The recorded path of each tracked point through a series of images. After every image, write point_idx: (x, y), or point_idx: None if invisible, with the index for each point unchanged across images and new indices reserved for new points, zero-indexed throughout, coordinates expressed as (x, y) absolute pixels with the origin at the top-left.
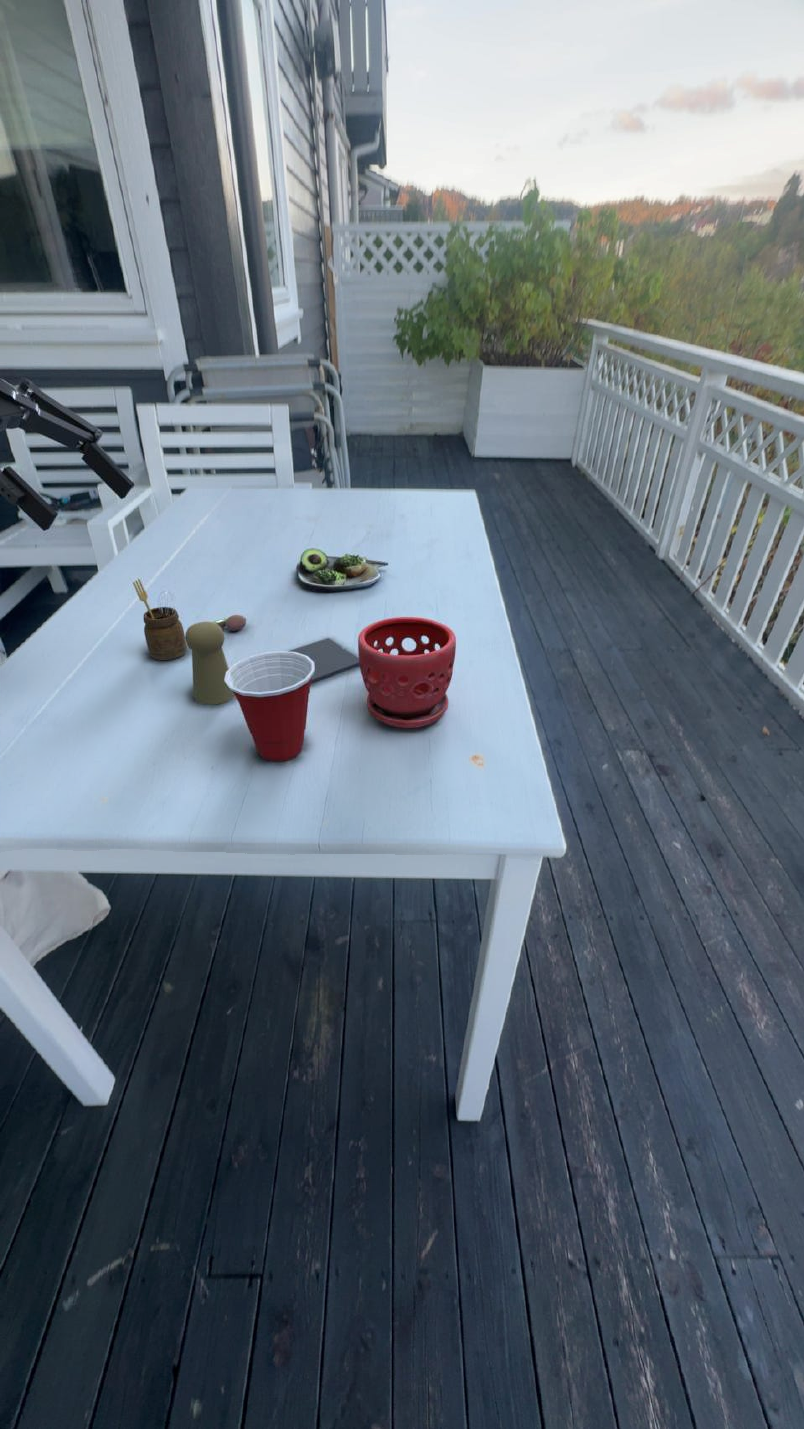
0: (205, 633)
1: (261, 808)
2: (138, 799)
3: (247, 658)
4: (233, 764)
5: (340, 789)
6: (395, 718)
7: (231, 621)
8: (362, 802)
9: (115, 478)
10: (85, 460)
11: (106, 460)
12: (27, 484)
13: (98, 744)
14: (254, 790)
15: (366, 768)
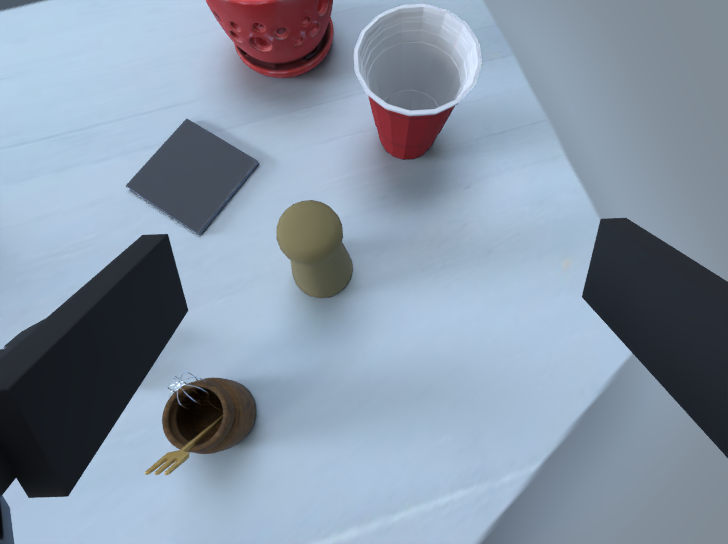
0: (325, 211)
1: (502, 112)
2: (548, 230)
3: (388, 105)
4: (452, 169)
5: None
6: (327, 31)
7: None
8: None
9: (147, 297)
10: (76, 465)
11: (96, 304)
12: (704, 284)
13: (487, 344)
14: (482, 130)
15: None
